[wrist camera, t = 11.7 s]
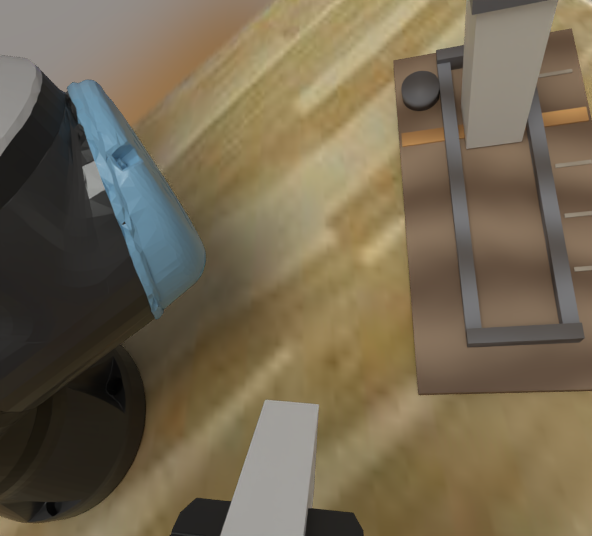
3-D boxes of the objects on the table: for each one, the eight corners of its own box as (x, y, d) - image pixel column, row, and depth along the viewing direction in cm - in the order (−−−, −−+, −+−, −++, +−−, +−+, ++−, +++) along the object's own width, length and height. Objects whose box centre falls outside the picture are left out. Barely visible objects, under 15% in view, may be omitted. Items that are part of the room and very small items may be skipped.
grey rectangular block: (526, 144, 39) (572, -24, 25) (462, 152, 40) (472, -3, 26) (518, 93, 40) (557, -92, 27) (456, 102, 42) (463, -70, 28)
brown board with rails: (644, 389, 33) (659, 385, 31) (419, 395, 36) (417, 391, 34) (568, 37, 42) (576, 14, 40) (394, 68, 46) (391, 48, 43)
